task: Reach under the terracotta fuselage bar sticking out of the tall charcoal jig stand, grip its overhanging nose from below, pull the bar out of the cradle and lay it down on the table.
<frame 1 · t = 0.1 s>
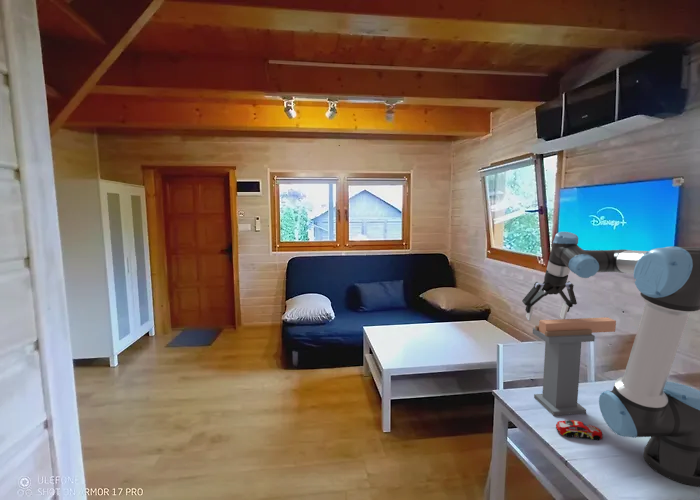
hand: (544, 318, 151), 28 cm above the table, tool tilted 20°, fingers open, 13 cm apart
fuselage bar: (576, 331, 135), point 28 cm above the table, touching jig stand
jig stand: (559, 405, 139), on the table
race car: (578, 435, 122), on the table
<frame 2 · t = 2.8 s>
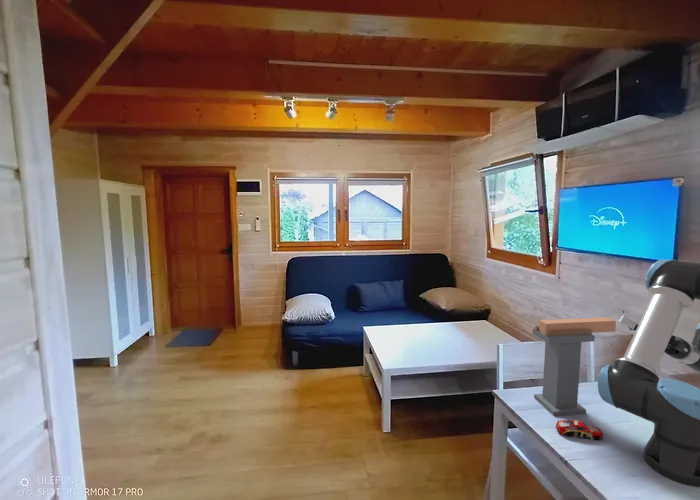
hand: (636, 324, 137), 30 cm above the table, tool pointing upward, fingers open, 13 cm apart
nothing on the table moved.
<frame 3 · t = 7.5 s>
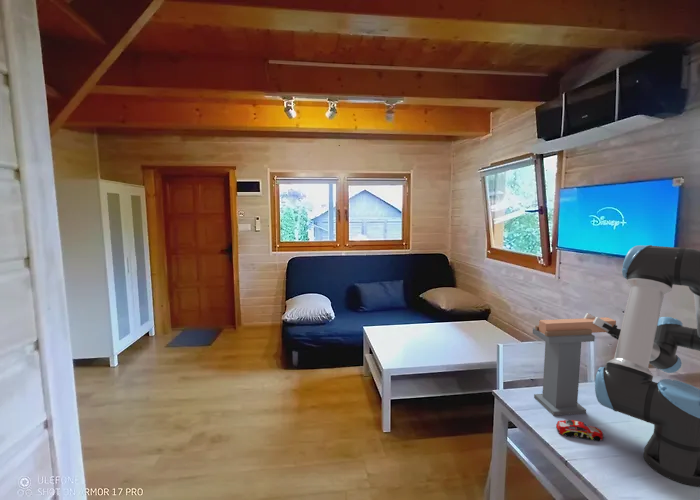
hand: (590, 318, 135), 33 cm above the table, tool pointing upward, fingers closed on fuselage bar, 4 cm apart
fuselage bar: (576, 331, 135), point 28 cm above the table, touching gripper, jig stand
everything else where it was.
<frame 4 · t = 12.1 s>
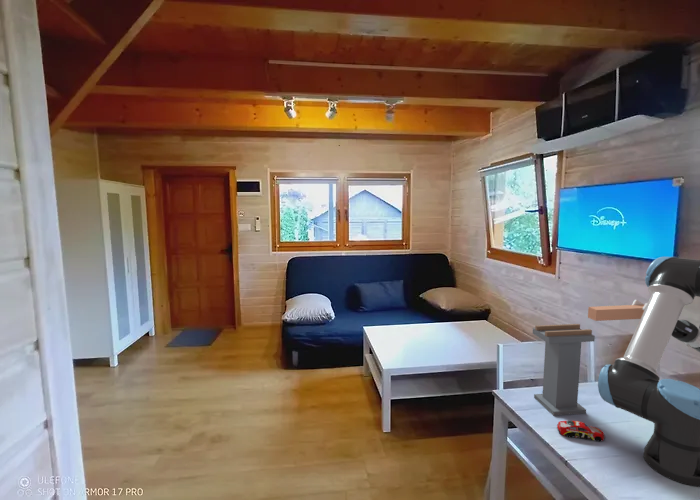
hand: (639, 304, 137), 37 cm above the table, tool pointing upward, fingers closed on fuselage bar, 4 cm apart
fuselage bar: (625, 317, 137), point 32 cm above the table, touching gripper
everything else where it was.
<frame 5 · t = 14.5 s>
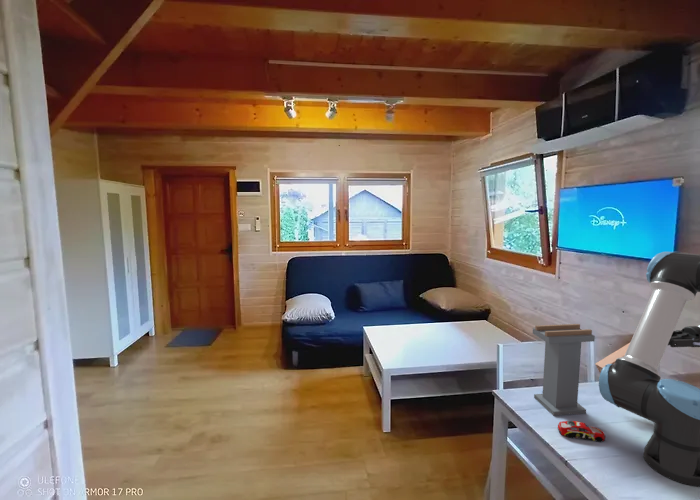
hand: (640, 339, 138), 24 cm above the table, tool horizontal, fingers closed on fuselage bar, 4 cm apart
fuselage bar: (633, 356, 139), point 17 cm above the table, tilted 30°, touching gripper
everything else where it was.
when the fingers open (14 cm above the table, at t = 17.0 s): fuselage bar drops 8 cm, on the table.
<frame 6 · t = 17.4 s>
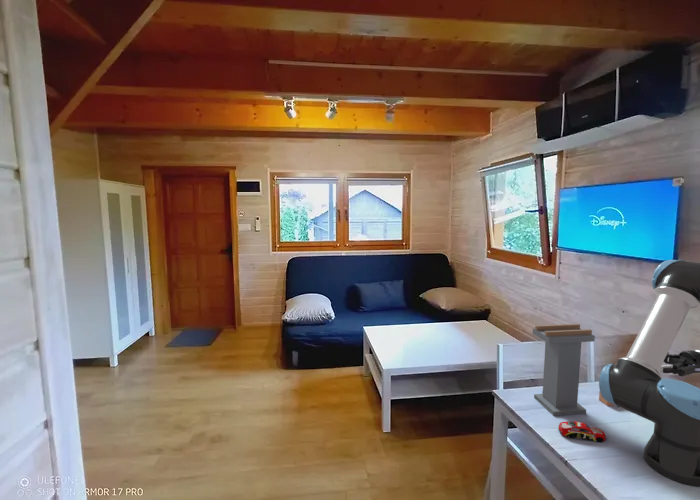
hand: (640, 363, 139), 14 cm above the table, tool horizontal, fingers open, 10 cm apart
fuselage bar: (635, 401, 141), on the table
everything else where it was.
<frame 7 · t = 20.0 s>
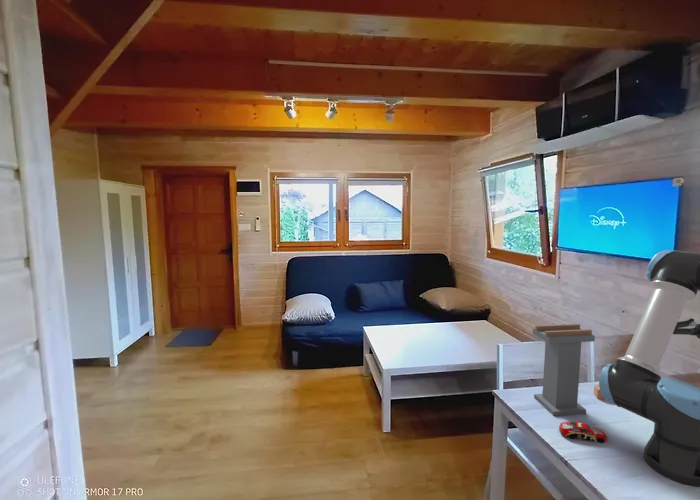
hand: (677, 356, 138), 17 cm above the table, tool tilted 60°, fingers open, 13 cm apart
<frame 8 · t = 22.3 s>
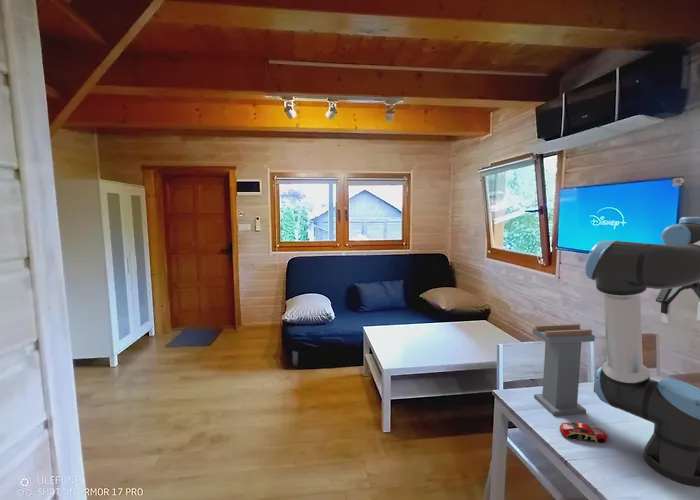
hand: (683, 321, 133), 32 cm above the table, tool pointing down, fingers open, 13 cm apart
at the end: fuselage bar inside the target area (1.5 cm from its centre), on the table; the gripper is holding nothing; fuselage bar touching table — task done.
